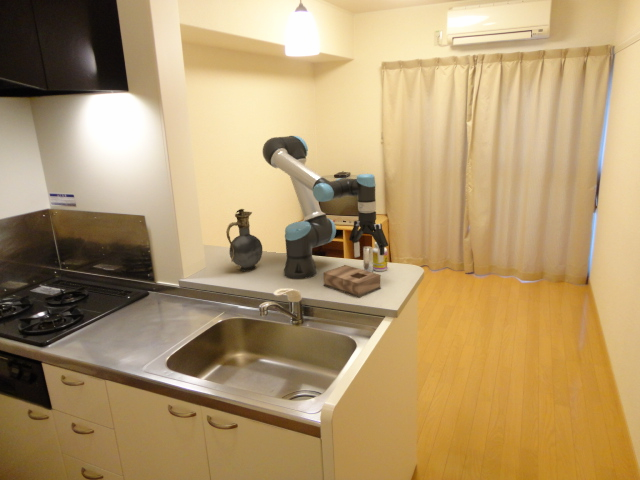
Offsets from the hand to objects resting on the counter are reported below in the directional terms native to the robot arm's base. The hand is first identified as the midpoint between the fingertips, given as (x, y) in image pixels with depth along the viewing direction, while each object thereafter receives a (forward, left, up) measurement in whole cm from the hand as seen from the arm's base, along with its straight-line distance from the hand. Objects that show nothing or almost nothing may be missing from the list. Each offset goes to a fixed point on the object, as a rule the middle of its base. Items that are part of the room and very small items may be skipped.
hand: (368, 259), depth 196 cm
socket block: (+2, -13, -9) cm, 15 cm away
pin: (0, 0, -9) cm, 9 cm away
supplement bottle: (-4, +12, -9) cm, 16 cm away
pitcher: (-53, -29, -9) cm, 61 cm away
